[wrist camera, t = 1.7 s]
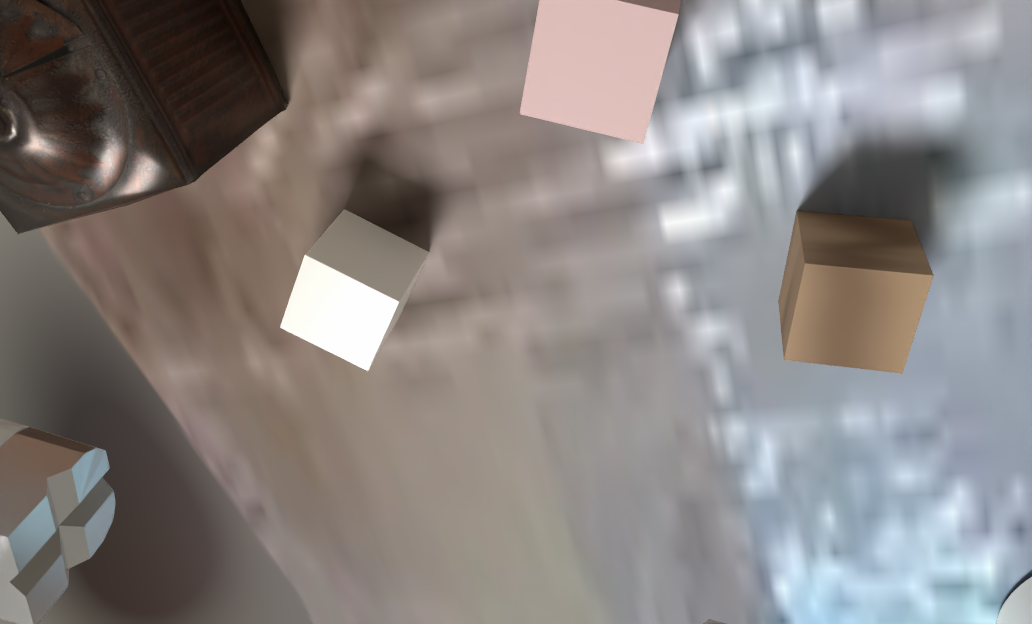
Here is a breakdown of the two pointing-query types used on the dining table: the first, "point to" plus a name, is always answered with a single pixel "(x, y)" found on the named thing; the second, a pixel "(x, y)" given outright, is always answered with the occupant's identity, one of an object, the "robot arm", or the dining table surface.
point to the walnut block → (852, 291)
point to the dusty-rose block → (599, 63)
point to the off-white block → (353, 288)
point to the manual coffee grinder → (122, 100)
